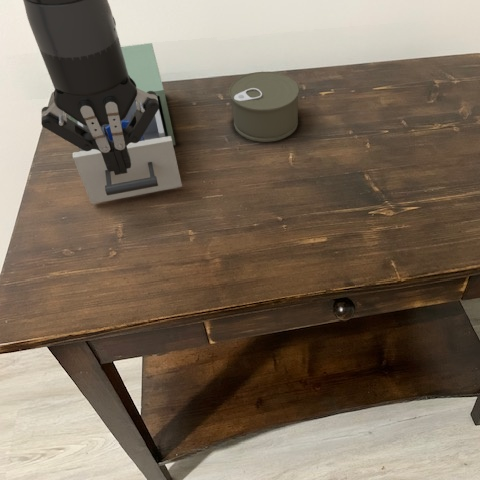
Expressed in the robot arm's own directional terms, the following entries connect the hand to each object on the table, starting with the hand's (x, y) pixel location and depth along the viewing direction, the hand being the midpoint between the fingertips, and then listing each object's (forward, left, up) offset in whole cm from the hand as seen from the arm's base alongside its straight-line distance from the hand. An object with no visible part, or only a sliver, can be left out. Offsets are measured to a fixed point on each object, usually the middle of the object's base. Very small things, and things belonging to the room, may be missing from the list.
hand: (121, 169), depth 65 cm
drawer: (0, +15, -13) cm, 20 cm away
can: (+24, +24, -14) cm, 37 cm away
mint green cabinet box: (0, +30, -14) cm, 33 cm away
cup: (0, +17, -12) cm, 21 cm away
